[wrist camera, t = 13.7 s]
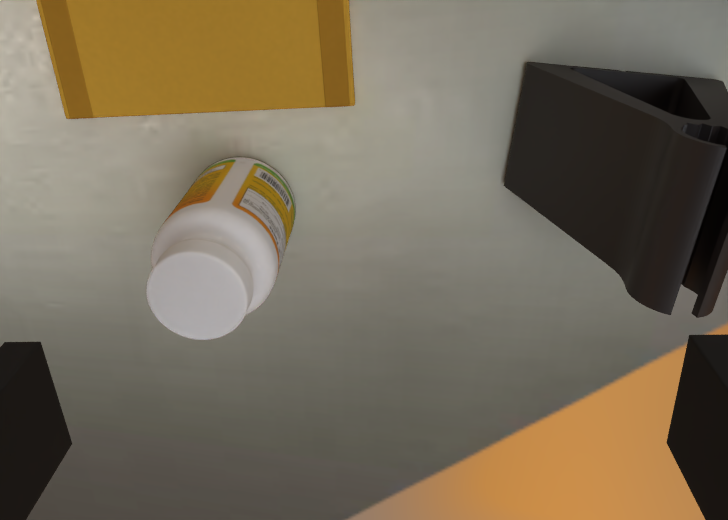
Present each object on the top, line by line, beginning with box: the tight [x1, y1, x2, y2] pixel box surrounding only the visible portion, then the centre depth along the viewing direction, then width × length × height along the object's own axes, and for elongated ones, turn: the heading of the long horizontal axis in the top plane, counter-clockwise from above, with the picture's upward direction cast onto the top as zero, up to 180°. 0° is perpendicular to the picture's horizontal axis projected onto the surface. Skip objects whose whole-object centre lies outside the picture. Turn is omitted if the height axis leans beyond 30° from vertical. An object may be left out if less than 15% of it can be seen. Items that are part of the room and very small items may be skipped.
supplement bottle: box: [146, 157, 296, 340], centre depth 31 cm, size 5×5×10 cm
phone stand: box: [504, 62, 728, 318], centre depth 27 cm, size 9×6×12 cm, turn 85°
